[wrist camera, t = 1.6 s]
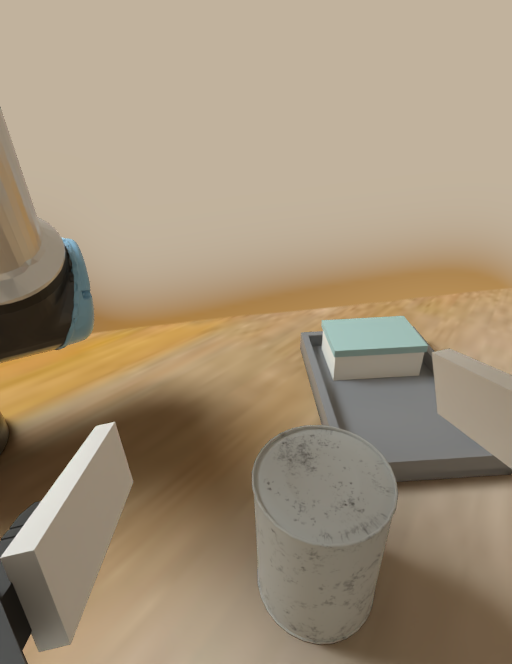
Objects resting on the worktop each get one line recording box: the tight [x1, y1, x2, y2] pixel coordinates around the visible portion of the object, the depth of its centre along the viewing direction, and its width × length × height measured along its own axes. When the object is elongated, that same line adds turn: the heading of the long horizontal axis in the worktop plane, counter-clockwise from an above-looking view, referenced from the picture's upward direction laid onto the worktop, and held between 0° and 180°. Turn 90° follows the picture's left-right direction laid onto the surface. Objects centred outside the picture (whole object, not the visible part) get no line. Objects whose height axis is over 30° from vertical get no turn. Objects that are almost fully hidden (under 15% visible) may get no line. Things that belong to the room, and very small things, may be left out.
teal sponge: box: [322, 316, 428, 380], centre depth 55 cm, size 8×12×5 cm
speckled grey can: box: [252, 425, 398, 644], centre depth 28 cm, size 10×10×12 cm
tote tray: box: [300, 326, 512, 482], centre depth 50 cm, size 26×18×3 cm
